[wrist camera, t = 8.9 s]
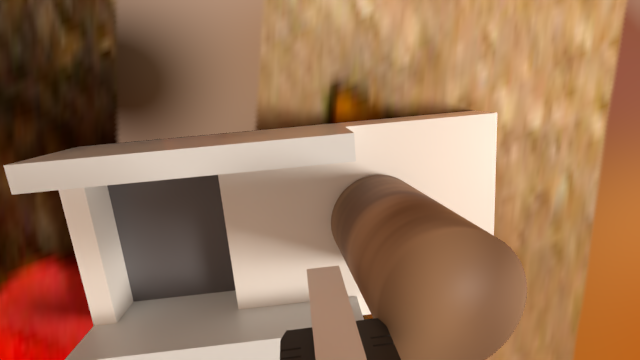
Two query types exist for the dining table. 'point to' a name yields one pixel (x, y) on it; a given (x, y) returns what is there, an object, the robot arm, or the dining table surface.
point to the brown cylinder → (428, 271)
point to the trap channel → (238, 224)
